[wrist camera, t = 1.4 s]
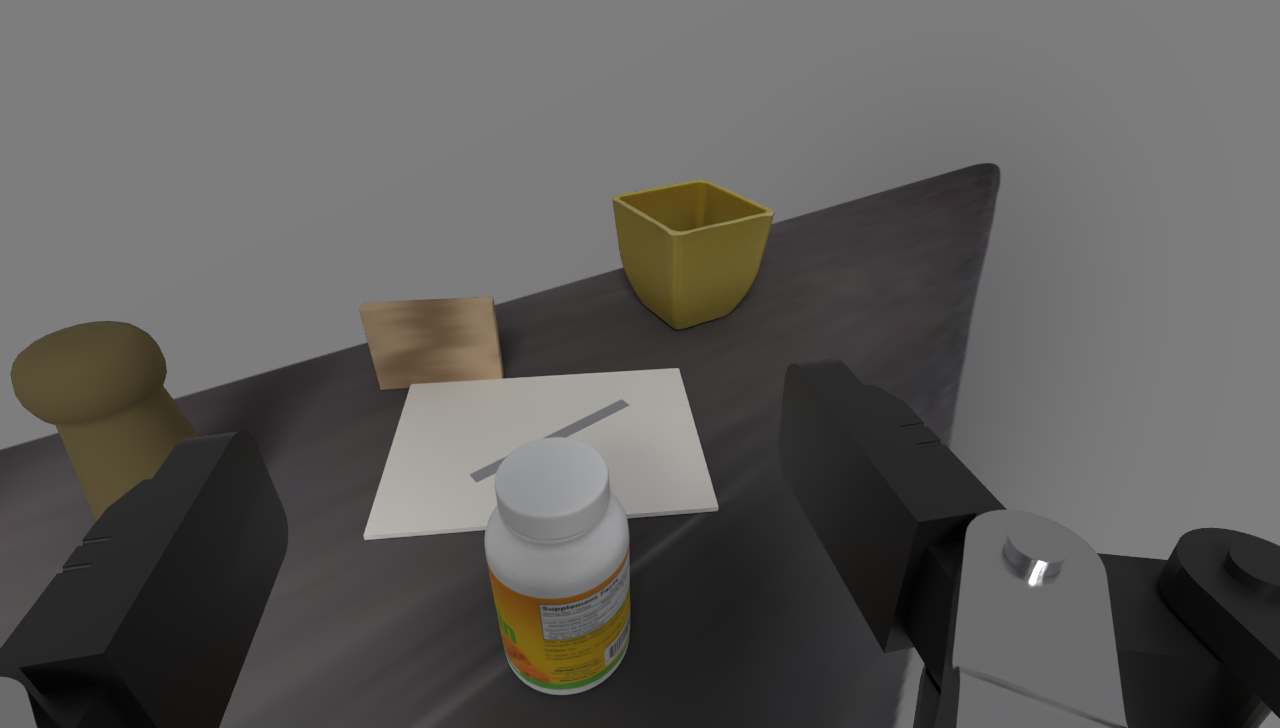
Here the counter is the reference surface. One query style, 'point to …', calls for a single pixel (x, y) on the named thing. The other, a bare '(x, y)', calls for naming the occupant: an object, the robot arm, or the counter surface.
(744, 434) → the counter surface
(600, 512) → the supplement bottle
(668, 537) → the counter surface
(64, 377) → the olive chess pawn
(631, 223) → the flower pot
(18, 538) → the counter surface
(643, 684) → the counter surface
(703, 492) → the paper
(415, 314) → the wooden block
